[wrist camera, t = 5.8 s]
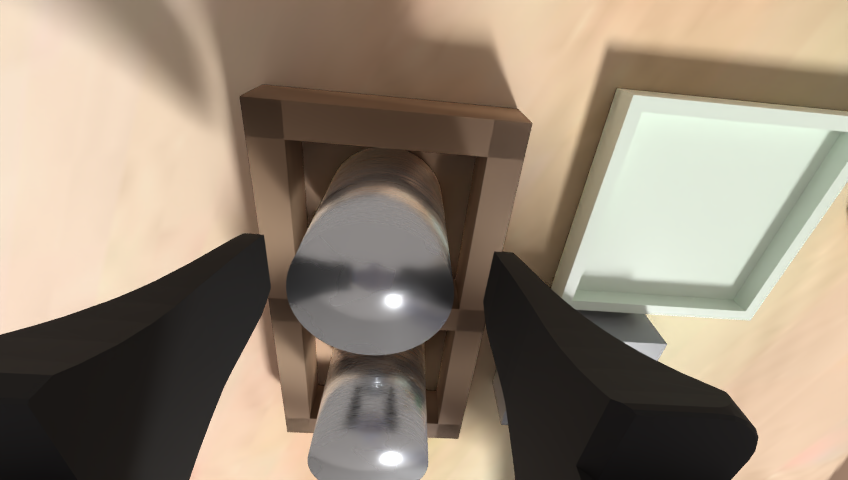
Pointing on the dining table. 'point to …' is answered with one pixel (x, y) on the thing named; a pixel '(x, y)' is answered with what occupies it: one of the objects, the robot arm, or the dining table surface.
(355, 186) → the cylinder
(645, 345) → the grey square frame
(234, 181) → the dining table surface
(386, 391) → the seated billet
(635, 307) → the pale green square tray
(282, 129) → the pallet
